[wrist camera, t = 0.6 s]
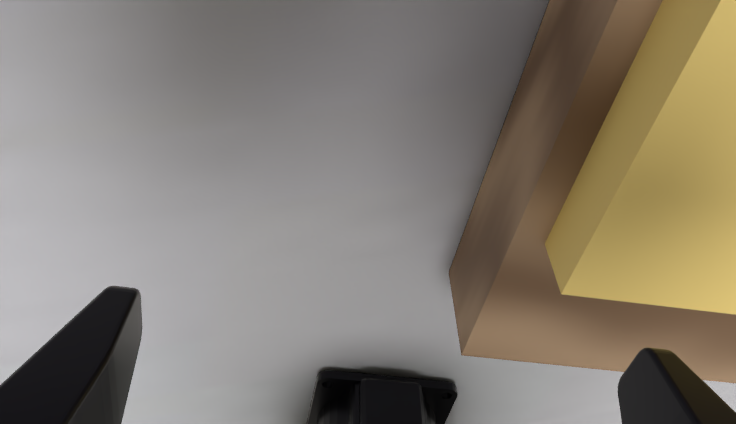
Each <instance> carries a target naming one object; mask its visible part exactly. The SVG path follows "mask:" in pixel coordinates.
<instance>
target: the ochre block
mask: <svg viewBox="0 0 736 424" xmlns="http://www.w3.org/2000/svg"><path fill="white" fill-rule="evenodd" d="M545 247H546V250H547V253H548V256H549V259H550V262H551V265H552V268H553V271H554V274H555V277H556V280H557V283H558V286H559V290H560V293H561V294H563V295H572V296H580V297H589V298H598V299H606V300H615V301H623V302H632V303H640V304H649V305H657V306H666V307H675V308H683V309H692V310H700V311H709V312H717V313H726V314H735V315H736V0H663V1H662V3H661V5H660V7H659V9H658V11H657V13H656V15H655V17H654V20H653V22H652V24H651V26H650V28H649V30H648V32H647V34H646V36H645V38H644V40H643V42H642V44H641V46H640V48H639V50H638V52H637V55H636V57H635V59H634V61H633V63H632V65H631V67H630V69H629V71H628V73H627V75H626V77H625V79H624V81H623V83H622V85H621V88H620V90H619V92H618V94H617V96H616V98H615V100H614V102H613V104H612V106H611V108H610V110H609V112H608V114H607V116H606V118H605V120H604V123H603V125H602V127H601V129H600V131H599V133H598V135H597V137H596V139H595V141H594V143H593V145H592V147H591V149H590V151H589V153H588V156H587V158H586V160H585V162H584V164H583V166H582V168H581V170H580V172H579V174H578V176H577V178H576V180H575V182H574V184H573V186H572V188H571V191H570V193H569V195H568V197H567V199H566V201H565V203H564V205H563V207H562V209H561V211H560V213H559V215H558V217H557V219H556V221H555V224H554V226H553V228H552V230H551V232H550V234H549V236H548V238H547V240H546V242H545Z"/></svg>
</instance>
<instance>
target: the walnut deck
mask: <svg viewBox="0 0 736 424" xmlns="http://www.w3.org/2000/svg"><path fill="white" fill-rule="evenodd" d="M662 1H663V0H550V1H549V3H548V6H547V9H546V11H545V14H544V17H543V19H542V22H541V25H540V28H539V30H538V33H537V36H536V38H535V41H534V44H533V46H532V49H531V52H530V55H529V57H528V60H527V63H526V65H525V68H524V71H523V73H522V76H521V79H520V82H519V84H518V87H517V90H516V92H515V95H514V98H513V100H512V103H511V106H510V108H509V111H508V114H507V117H506V119H505V122H504V125H503V127H502V130H501V133H500V135H499V138H498V141H497V144H496V146H495V149H494V152H493V154H492V157H491V160H490V162H489V165H488V168H487V171H486V173H485V176H484V179H483V181H482V184H481V187H480V189H479V192H478V195H477V197H476V200H475V203H474V206H473V208H472V211H471V214H470V216H469V219H468V222H467V224H466V227H465V230H464V233H463V235H462V238H461V241H460V243H459V246H458V249H457V251H456V254H455V257H454V260H453V262H452V265H451V268H450V270H449V278H450V284H451V290H452V297H453V303H454V310H455V316H456V323H457V329H458V336H459V342H460V349H461V355H464V356H474V357H484V358H494V359H504V360H513V361H523V362H533V363H543V364H553V365H562V366H572V367H582V368H592V369H602V370H611V371H621V372H625V371H626V369H627V368H628V366H629V365H630V364H631V362H632V361H633V359H634V358H635V357H636V355H637V354H638V352H639V351H640V350H642V349H643V348H647V347H650V348H659V349H666V350H670V351H672V352H673V353H675V354H676V355H677V356H678V357H679V358H680V359H681V360H682V361H683V362H684V363H685V364H686V365H687V366H688V367H689V368H690V369H691V370H692V371H693V372H694V373H695V374H696V375H697V376H698V377H700V378H701V379H702V380H709V381H719V382H729V383H736V315H735V314H726V313H717V312H709V311H700V310H692V309H683V308H675V307H666V306H657V305H649V304H640V303H632V302H623V301H615V300H606V299H598V298H589V297H580V296H572V295H563V294H561V293H560V290H559V286H558V283H557V280H556V277H555V274H554V271H553V268H552V265H551V262H550V259H549V256H548V253H547V250H546V247H545V242H546V240H547V238H548V236H549V234H550V232H551V230H552V228H553V226H554V224H555V221H556V219H557V217H558V215H559V213H560V211H561V209H562V207H563V205H564V203H565V201H566V199H567V197H568V195H569V193H570V191H571V188H572V186H573V184H574V182H575V180H576V178H577V176H578V174H579V172H580V170H581V168H582V166H583V164H584V162H585V160H586V158H587V156H588V153H589V151H590V149H591V147H592V145H593V143H594V141H595V139H596V137H597V135H598V133H599V131H600V129H601V127H602V125H603V123H604V120H605V118H606V116H607V114H608V112H609V110H610V108H611V106H612V104H613V102H614V100H615V98H616V96H617V94H618V92H619V90H620V88H621V85H622V83H623V81H624V79H625V77H626V75H627V73H628V71H629V69H630V67H631V65H632V63H633V61H634V59H635V57H636V55H637V52H638V50H639V48H640V46H641V44H642V42H643V40H644V38H645V36H646V34H647V32H648V30H649V28H650V26H651V24H652V22H653V20H654V17H655V15H656V13H657V11H658V9H659V7H660V5H661V3H662Z"/></svg>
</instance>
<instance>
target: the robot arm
mask: <svg viewBox="0 0 736 424" xmlns="http://www.w3.org/2000/svg"><path fill="white" fill-rule="evenodd" d="M141 335H142V312H141V295H140V292H139V290H138V289H135V288H129V287H120V286H110V287H107V288H106V289H104V290H103V291H102V292H101V293H100V294H99V295H98V296H97V297H96V298H95V299H93V300H92V301H91V302H90V303H89V304H88V305H87V306H86V307H85V308H84V309H83V310H82V311H80V312H79V313H78V314H77V315H76V316H75V317H74V318H73V319H72V320H71V321H70V322H69V323H67V324H66V325H65V326H64V327H63V328H62V329H61V330H60V331H59V332H58V333H57V334H55V335H54V336H53V337H52V338H51V339H50V340H49V341H48V342H47V343H46V344H45V345H44V346H42V347H41V348H40V349H39V350H38V351H37V352H36V353H35V354H34V355H33V356H32V357H30V358H29V359H28V360H27V361H26V362H25V363H24V364H23V365H22V366H21V367H20V368H19V369H17V370H16V371H15V372H14V373H13V374H12V375H11V376H10V377H9V378H8V379H7V380H5V381H4V382H3V383H2V384H1V385H0V424H121V422H122V418H123V413H124V409H125V405H126V401H127V397H128V392H129V388H130V384H131V380H132V376H133V371H134V367H135V363H136V359H137V354H138V350H139V346H140V341H141ZM456 398H457V389H456V386H455V384H453V383H451V382H443V381H433V380H423V379H412V378H402V377H392V376H381V375H371V374H360V373H350V372H340V371H322V372H320V373H319V374H318V375H317V379H316V383H315V388H314V393H313V397H312V402H311V406H310V411H309V415H308V420H307V424H445V421H446V419H447V417H448V415H449V413H450V411H451V408H452V406H453V404H454V402H455V400H456ZM618 398H619V405H620V411H621V418H622V424H736V412H735V411H734V410H732V409H731V408H730V407H729V406H728V405H727V404H726V403H725V402H724V401H723V400H722V399H721V398H720V397H719V396H718V395H717V394H716V393H715V392H714V391H713V390H712V389H711V388H710V387H709V386H708V385H707V384H706V383H705V382H704V381H703V380H702V379H701V378H700V377H698V376H697V375H696V374H695V373H694V372H693V371H692V370H691V369H690V368H689V367H688V366H687V365H686V364H685V363H684V362H683V361H682V360H681V359H680V358H679V357H678V356H677V355H676V354H675V353H673V352H672V351H670V350H666V349H659V348H650V347H647V348H643V349H642V350H640V351H639V352H638V354H637V355H636V357H635V358H634V359H633V361H632V362H631V364H630V365H629V366H628V368H627V369H626V371H625V372H624V373H623V375H622V376H621V378H620V381H619V384H618Z"/></svg>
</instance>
